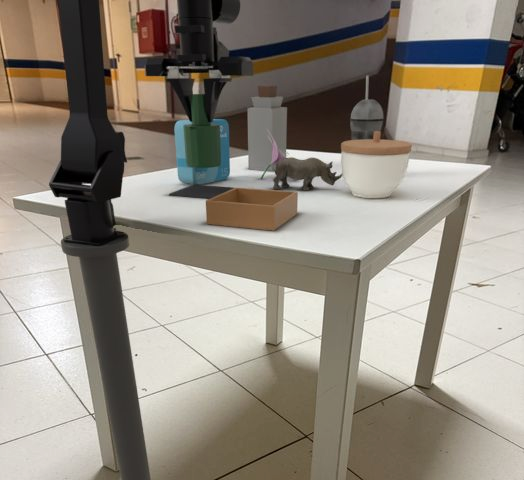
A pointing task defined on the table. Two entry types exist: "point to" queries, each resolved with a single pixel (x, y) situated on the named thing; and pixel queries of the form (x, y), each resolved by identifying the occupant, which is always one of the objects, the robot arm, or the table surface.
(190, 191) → the mat
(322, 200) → the table surface
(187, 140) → the bottle
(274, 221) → the carton
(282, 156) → the lily
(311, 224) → the table surface
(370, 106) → the beverage cup
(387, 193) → the lidded bowl
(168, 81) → the robot arm
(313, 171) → the rhino figurine
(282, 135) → the perfume bottle
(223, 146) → the data package
